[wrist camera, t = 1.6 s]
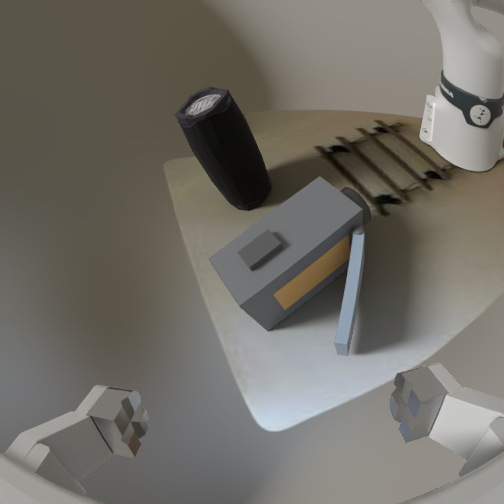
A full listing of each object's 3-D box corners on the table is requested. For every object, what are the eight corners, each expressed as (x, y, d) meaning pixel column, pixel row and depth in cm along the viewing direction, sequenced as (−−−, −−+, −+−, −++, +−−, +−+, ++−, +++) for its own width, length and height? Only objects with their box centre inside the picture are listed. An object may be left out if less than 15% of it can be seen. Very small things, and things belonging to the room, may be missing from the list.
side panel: (355, 256, 35) (354, 224, 29) (364, 257, 34) (365, 225, 28) (337, 354, 29) (334, 342, 24) (347, 356, 29) (346, 344, 23)
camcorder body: (342, 213, 40) (335, 159, 31) (376, 243, 36) (379, 190, 27) (240, 292, 39) (204, 255, 30) (268, 331, 35) (236, 303, 26)
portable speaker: (230, 221, 47) (168, 130, 31) (225, 183, 52) (173, 100, 36) (279, 204, 45) (233, 101, 29) (268, 167, 50) (227, 76, 34)
